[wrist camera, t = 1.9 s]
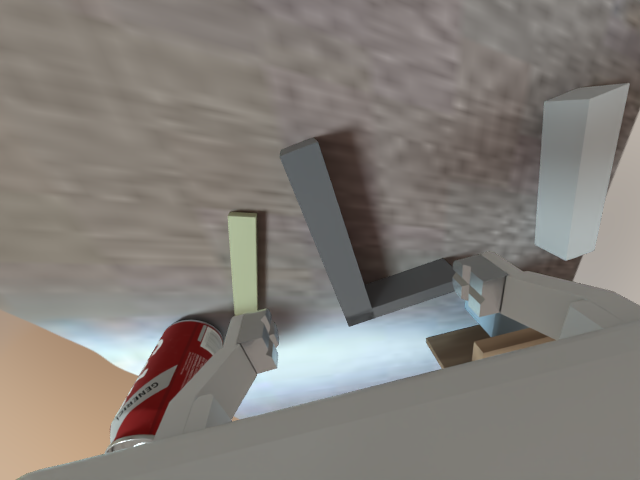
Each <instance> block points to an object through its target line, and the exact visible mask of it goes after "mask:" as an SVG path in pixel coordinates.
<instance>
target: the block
mask: <svg viewBox="0 0 640 480" xmlns="http://www.w3.org/2000/svg"><path fill="white" fill-rule="evenodd" d="M465 309H466V310H467V311H468V312H469V313H470V314H471V316H472V317H473V318H474V319H475V320H476V321H477V322H478V323H479V324H480V326H481V327H482V328H483V329H484V330H485V331H486V332H487V333H488V334H489V335H490V337H494V336H498V335H502V334H506V333H510V332H514V331H518V330H522V329H526V328H530V327H528V326H526V325H524V324H521V323H519V322H517V321H515V320H513V319H511V318H509V317H507V316H505V315H503V314H500V313H501V312H500V313H496V314H491V315H487V316H482V317H478V315H477V314H476V313H475V312H474V311H473V310H472V309H471V308H470V307H469V306H468V301H467V300H466V302H465Z"/></svg>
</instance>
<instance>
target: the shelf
mask: <svg viewBox="0 0 640 480" xmlns="http://www.w3.org/2000/svg"><path fill="white" fill-rule="evenodd" d="M551 341H555V339H553V338H551V337H549V336H547V335H544V334H542V333H540V332H538V331H536V330H534V329H532V328H526V329H522V330H518V331H514V332H510V333H506V334H502V335H498V336H494V337H490V335H489V334H488V333H487V332H486V331H485V330H484V329H483V328H482V327H481V326H480V325H477V326H473V327H469V328H465V329H461V330H457V331H453V332H449V333H445V334H441V335H437V336H433V337H429V338H426V343H427V345H428V346H429V348H430V350H431V351H432V353H433V355H434V356H435V358H436V360H437V361H438V363H439V365H440V366H441V368H442V369H444V368H448V367H452V366H456V365H460V364H464V363H468V362H472V361H476V360H480V359H484V358H487V357H491V356H495V355H499V354H503V353H507V352H511V351H515V350H519V349H523V348H527V347H531V346H535V345H539V344H543V343H547V342H551Z"/></svg>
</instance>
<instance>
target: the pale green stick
mask: <svg viewBox="0 0 640 480" xmlns="http://www.w3.org/2000/svg"><path fill="white" fill-rule="evenodd" d="M228 228H229V242H230V256H231V270H232V285H233V299H234V313H235V316H237V315H241V314H245V313H249V312H254V311H258V260H257V213H242V212H230V213H229V215H228Z"/></svg>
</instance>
